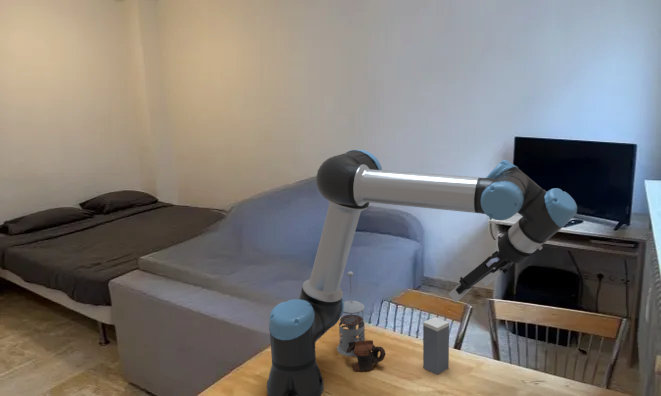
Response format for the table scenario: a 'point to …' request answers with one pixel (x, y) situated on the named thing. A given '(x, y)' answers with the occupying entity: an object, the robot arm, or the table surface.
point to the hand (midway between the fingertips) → (468, 289)
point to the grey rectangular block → (436, 345)
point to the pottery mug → (365, 354)
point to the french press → (351, 325)
